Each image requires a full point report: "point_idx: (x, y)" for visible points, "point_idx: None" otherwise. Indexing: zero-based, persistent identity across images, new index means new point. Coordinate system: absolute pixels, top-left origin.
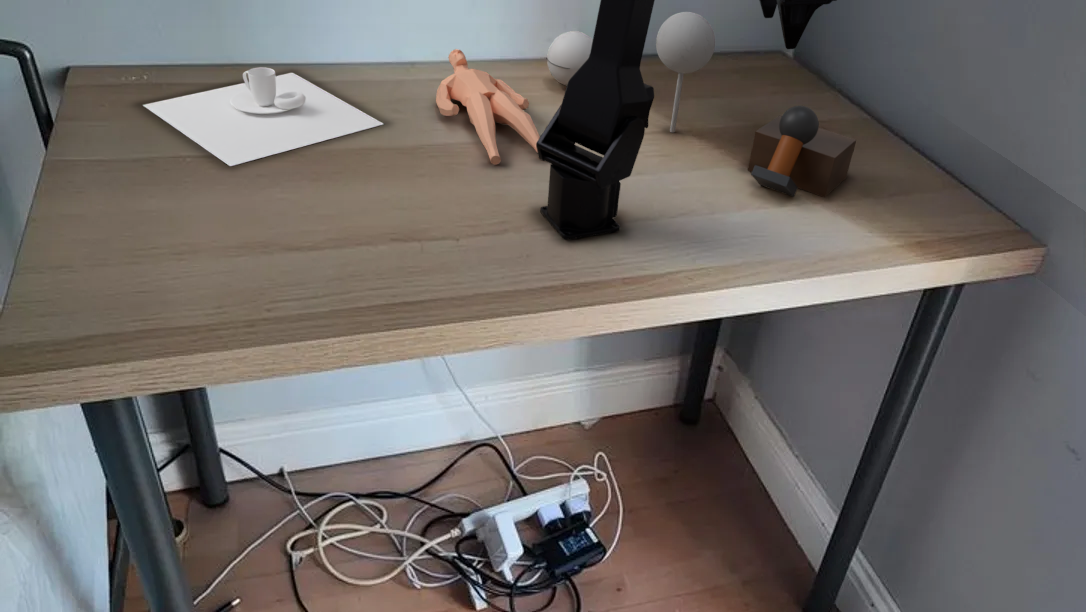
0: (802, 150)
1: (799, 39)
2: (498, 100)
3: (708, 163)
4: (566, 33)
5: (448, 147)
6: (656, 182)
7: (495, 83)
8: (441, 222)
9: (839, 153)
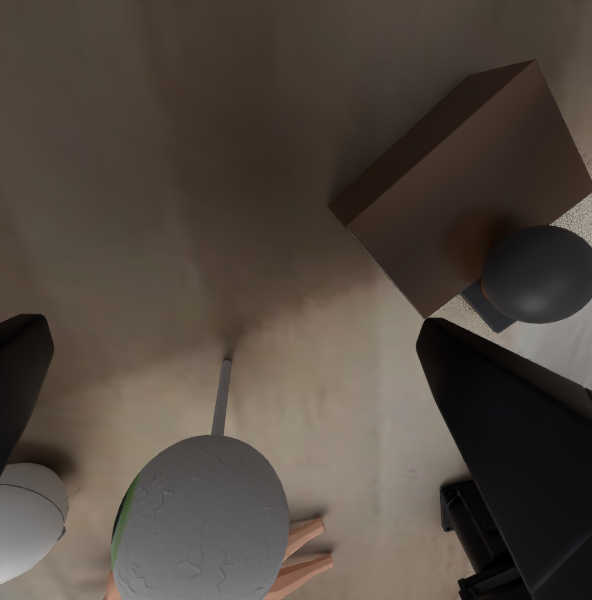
0: None
1: (483, 339)
2: None
3: (356, 338)
4: None
5: None
6: (402, 418)
7: None
8: (435, 581)
9: (583, 164)
